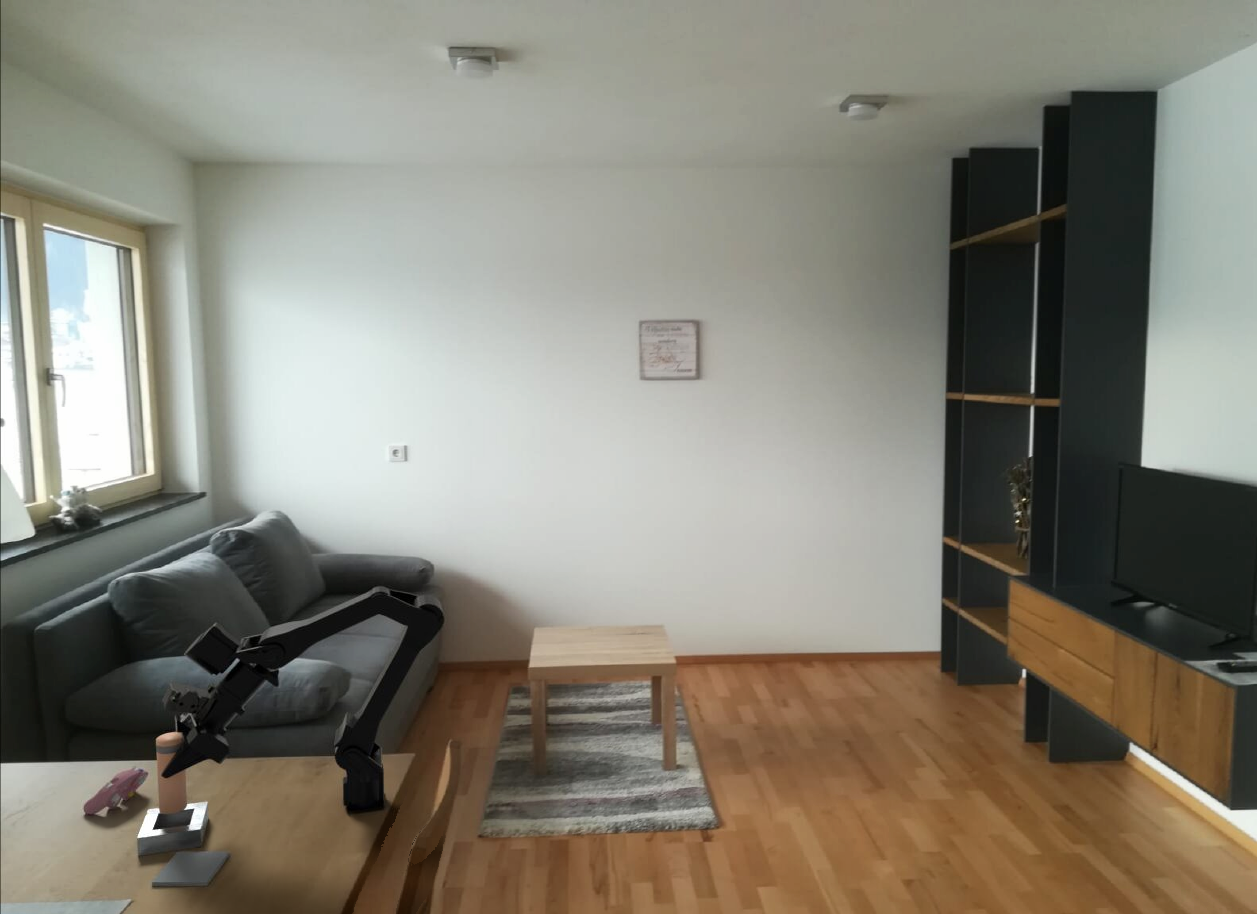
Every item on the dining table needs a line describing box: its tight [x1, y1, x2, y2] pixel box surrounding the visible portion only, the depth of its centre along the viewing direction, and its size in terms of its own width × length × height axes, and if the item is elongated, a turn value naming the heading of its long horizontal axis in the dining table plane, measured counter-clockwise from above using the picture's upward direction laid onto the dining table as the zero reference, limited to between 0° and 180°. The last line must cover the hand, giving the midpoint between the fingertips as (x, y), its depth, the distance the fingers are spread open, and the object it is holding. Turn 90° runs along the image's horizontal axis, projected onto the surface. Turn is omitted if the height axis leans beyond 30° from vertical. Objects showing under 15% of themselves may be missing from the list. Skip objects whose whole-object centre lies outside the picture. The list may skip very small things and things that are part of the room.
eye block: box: [136, 801, 209, 857], centre depth 141 cm, size 9×9×3 cm
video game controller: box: [82, 766, 149, 816], centre depth 151 cm, size 10×5×7 cm, turn 169°
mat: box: [151, 851, 230, 887], centre depth 132 cm, size 8×8×1 cm
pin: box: [155, 731, 188, 814], centre depth 140 cm, size 4×4×12 cm
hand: (161, 771), depth 139 cm, fingers closed on pin, 4 cm apart
